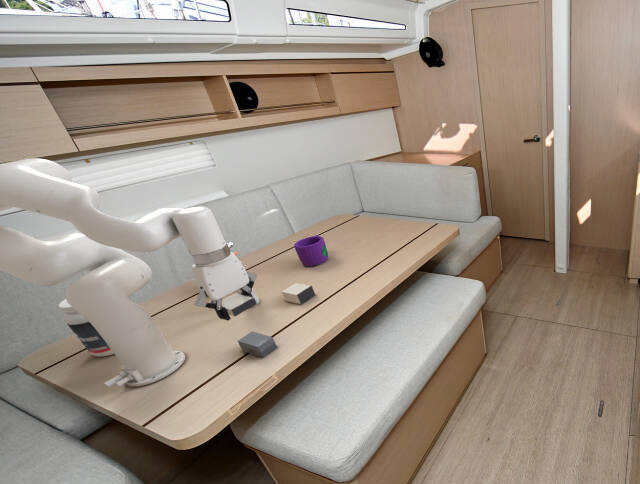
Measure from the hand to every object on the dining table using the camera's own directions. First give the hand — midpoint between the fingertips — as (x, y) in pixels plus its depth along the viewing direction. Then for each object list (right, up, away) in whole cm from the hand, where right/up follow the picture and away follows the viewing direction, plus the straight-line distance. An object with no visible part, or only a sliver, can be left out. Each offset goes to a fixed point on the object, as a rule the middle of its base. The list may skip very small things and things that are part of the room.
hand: (238, 311), depth 98 cm
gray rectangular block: (+2, -13, +6) cm, 14 cm away
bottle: (-18, -3, +29) cm, 34 cm away
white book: (0, +1, -1) cm, 1 cm away
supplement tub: (-47, -13, +13) cm, 51 cm away
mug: (-10, +12, +59) cm, 61 cm away
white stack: (-1, -1, +30) cm, 30 cm away
